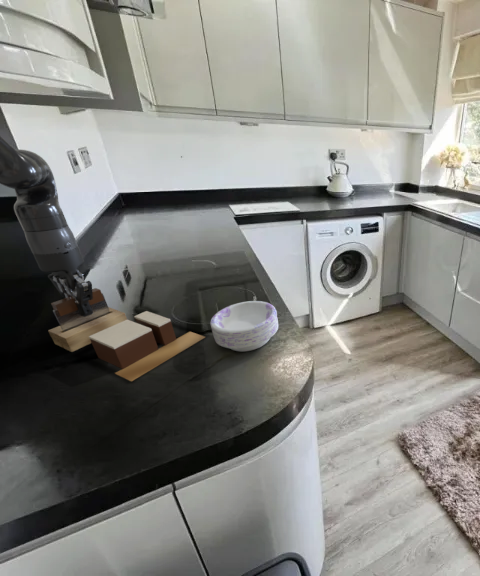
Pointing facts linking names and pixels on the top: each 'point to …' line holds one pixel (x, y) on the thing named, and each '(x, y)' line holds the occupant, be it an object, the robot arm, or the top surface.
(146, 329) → the loaf cake
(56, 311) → the cake cutter
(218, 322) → the paper bowls
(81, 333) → the knife block
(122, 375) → the cutting board
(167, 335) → the cake slice
